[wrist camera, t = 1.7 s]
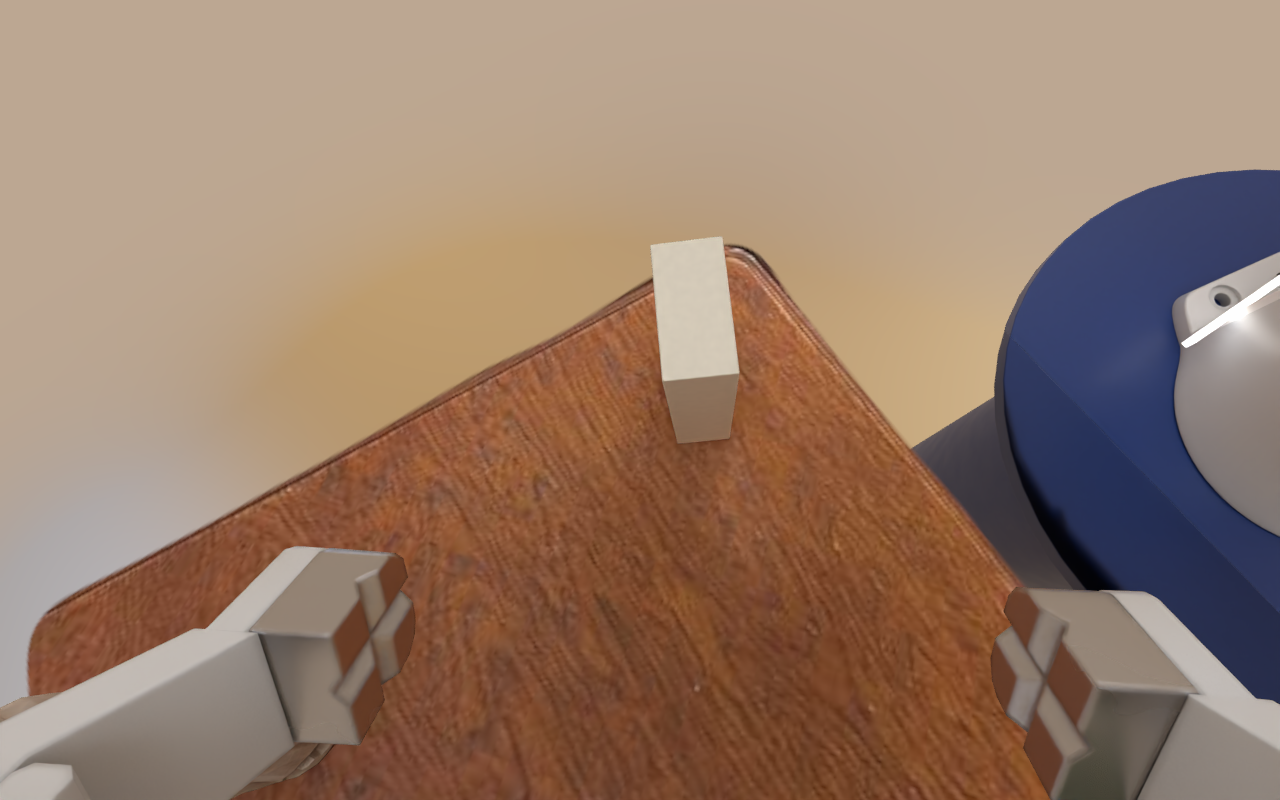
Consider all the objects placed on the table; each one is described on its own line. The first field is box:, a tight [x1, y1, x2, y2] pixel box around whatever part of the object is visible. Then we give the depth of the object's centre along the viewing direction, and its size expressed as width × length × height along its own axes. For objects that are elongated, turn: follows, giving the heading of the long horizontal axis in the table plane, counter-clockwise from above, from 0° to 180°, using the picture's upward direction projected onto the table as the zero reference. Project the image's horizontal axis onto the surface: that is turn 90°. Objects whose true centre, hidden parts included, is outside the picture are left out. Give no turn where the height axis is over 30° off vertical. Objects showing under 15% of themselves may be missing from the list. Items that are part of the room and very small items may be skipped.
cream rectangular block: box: [650, 236, 740, 444], centre depth 30 cm, size 3×6×12 cm, turn 4°
